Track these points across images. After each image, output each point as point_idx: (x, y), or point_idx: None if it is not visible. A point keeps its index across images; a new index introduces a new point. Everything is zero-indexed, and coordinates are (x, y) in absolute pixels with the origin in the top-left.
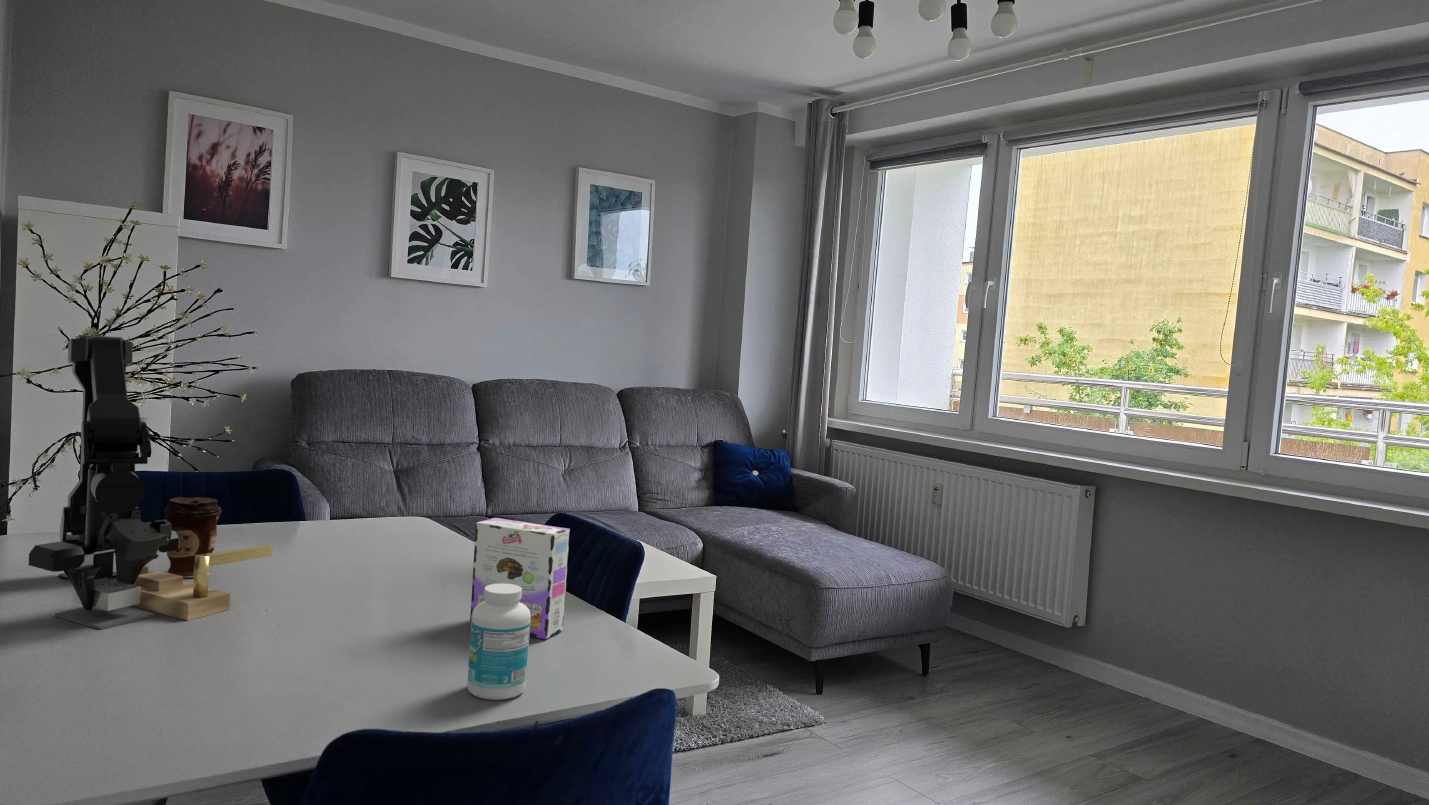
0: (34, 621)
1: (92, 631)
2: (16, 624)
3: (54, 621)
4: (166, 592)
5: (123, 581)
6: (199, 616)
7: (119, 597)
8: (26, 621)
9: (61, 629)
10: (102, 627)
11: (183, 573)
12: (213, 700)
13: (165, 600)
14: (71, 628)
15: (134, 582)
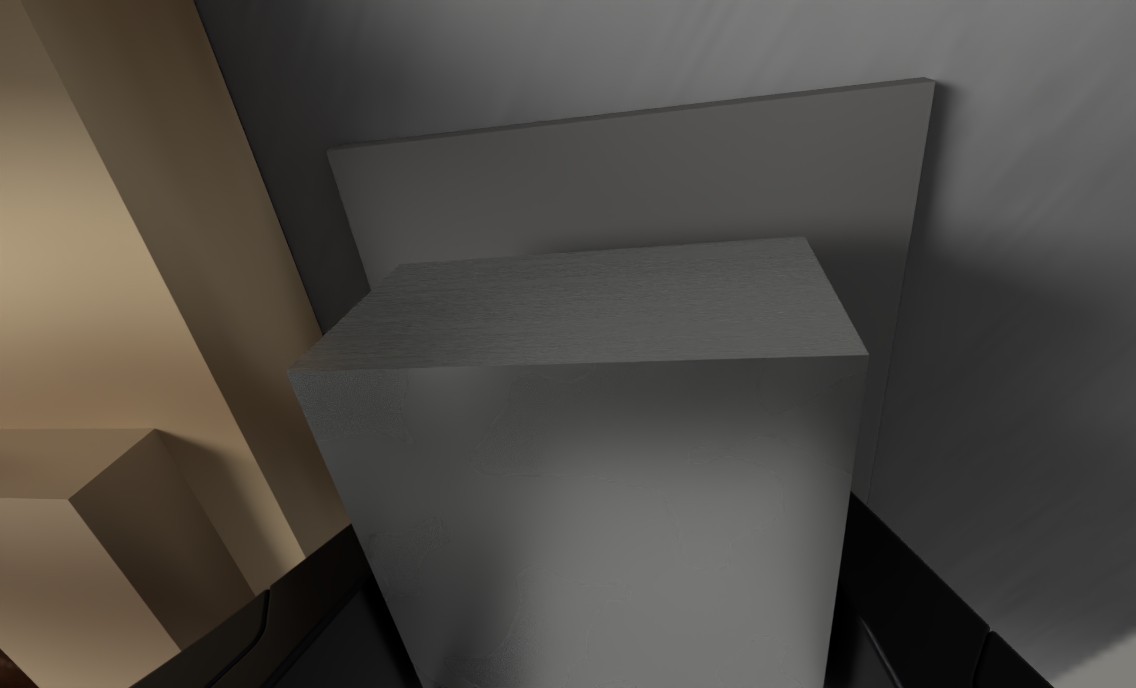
0: (999, 604)
1: (1007, 91)
2: (1117, 624)
3: (929, 533)
4: (94, 357)
5: (391, 646)
6: None
7: (646, 308)
8: (1024, 630)
9: (1088, 348)
10: (913, 82)
11: (23, 676)
12: None
13: (146, 183)
14: (1019, 318)
15: (299, 571)
